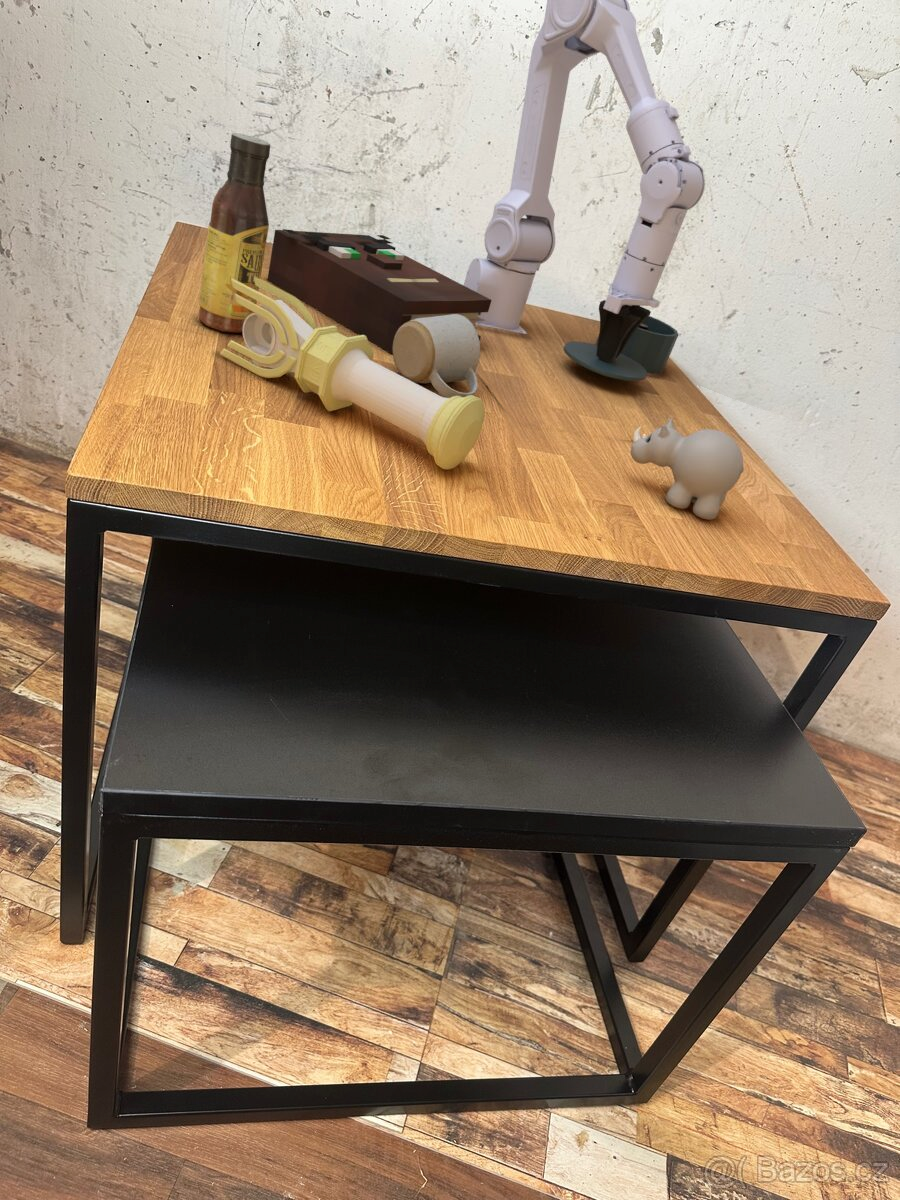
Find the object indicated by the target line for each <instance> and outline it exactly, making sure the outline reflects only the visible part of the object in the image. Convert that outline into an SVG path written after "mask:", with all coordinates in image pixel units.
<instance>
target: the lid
mask: <svg viewBox="0 0 900 1200" xmlns="http://www.w3.org/2000/svg"><path fill="white" fill-rule="evenodd" d="M595 344H596V343H590V342H586V341H568V342H566V343H565V344H564V345H563V352H564V353H565V355H566V356H567V357H569V358H570V360H572V361H574V362H575V363H577V364H578V365H580V366H581V367H583V368H585V369H587V370H589V371H591V372H593V373H595V374H598V375H601V376H603V377H606V378H609V379H614V380H621V381H622V380H623V381H629V382H640V381H644V380H645V379H646V377H647V376H648V372H647V371H646V370H645V368H644V367H643V366H641V365H640V364H639V363H637V362H636V361H634V360H633V359H631V358H629V357H627V356H625V355H623V354H621V353H620V355H619V356H618V357H617V358H616V356H617V353H618V351H619V349H618V350H617V352H616V354H615V356H614V357H613V358H612V360H611V361H607V360H604V359H602V358H600V357H598V356H596V354H597V345H595ZM620 346H621V345H620ZM619 348H620V347H619Z"/></svg>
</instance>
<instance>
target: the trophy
mask: <svg viewBox="0 0 900 1200" xmlns="http://www.w3.org/2000/svg"><path fill="white" fill-rule="evenodd" d="M254 281H255V285H256V286H257V287H259V289H261V290H263V291H265V292H267V293H269V294H271V295H273V296H274V297H276V298H279V299H274V298H272V297H270V296H268V295H266V294H265V293H262V292H260V291H259V290H258V291H256V290H254V289H252V288H250V287H248V286H246V285H244V284H242V283H240V282H238V281H236V280H235V279H233V278H231V282H232V287H233V288H234V289H236V290H238V291H240V292H242V293H244V294H246V295H247V296H249V297H251V298H253V299H255V300H257V302H259V303H260V305H258V304H257V303H256V304H254V303H252V302H250V301H249V300H247V299H245V298H243V297H241V296H239V295H237V294H235V297H236V302H237V303H238V304H240V305H242V306H243V307H245V308H247V309H249V310H251V311H253V312H255V313H252V314H250V315H249V316H247V318H246V319H245V321H244V324H243V332H242V338H243V341H244V344H245V345H242V344H240V343H238V342H236V341H235V340H232V339H230V340H229V342H228V344H227V347H228V348H229V349H231V350H234V351H236V352H238V353H240V354H241V355H243V356H245V357H246V358H249V359H251V361H249V360H247V359H245V358H244V357H241V356H239V355H237V354H235V353H233V352H232V351H230V350H229V349H226V348H222V350H221V351H220V352H219V355H220V356H222V357H223V358H225V359H227V360H229V361H231V362H232V363H234V364H237V365H238V366H240V367H242V368H244V369H245V370H248V371H249V372H251V373H253V374H254V375H257V376H258V377H261V378H265V379H271V378H272V379H273V378H281V377H282V376H283V375H285V374H294V376H293V377H294V379H295V381H296V382H297V385H298V387H299V388H300V389H301V391H302V392H303V393H305V394H307V393H310V392H312V393H314V394H316V395H318V397H319V399H320V400H321V401H320V402H322V404H323V406H324V408H325V409H326V411H328V412H334V411H336V410H339V409H343V408H347V407H350V406H352V405H353V404H355V405H357V406H359V407H360V408H362V409H364V410H366V411H367V412H369V413H372V414H373V415H375V416H377V417H379V418H380V419H383V420H385V421H387V422H388V423H390V424H392V425H394V426H396V427H397V428H399V429H401V430H403V431H405V432H407V433H409V434H411V436H414V437H416V438H418V439H419V440H421V441H422V442H423V443H424V444H425V448H426V451H427V452H428V454H430V455H431V456H433V459H434V463H435V464H436V465H437V466H438V467H440V468H441V469H443V470H451V469H454V468H456V467H457V466H459V465H460V464H461V463H462V462H463V461H464V460H465V459H466V457H467V456H468V455H469V454H470V452H471V451H472V450H473V448H474V447H475V445H476V444H477V442H478V439H479V438H480V435H481V431H482V428H483V424H484V420H485V412H486V411H485V410H486V409H485V404H484V402H483V400H482V399H481V398H480V397H478V396H475V395H469V396H466V397H461V396H453V397H451V398H445V397H443V396H442V395H439V394H437V393H436V392H433V391H431V390H430V389H427V387H426V388H425V387H423V386H422V385H420V384H419V383H415V382H412V381H410V380H408V379H406V378H404V377H403V376H402V375H401V374H398V373H397V372H395V371H392V370H391V369H389V368H387V367H384V366H383V365H381V364H379V363H377V362H376V361H373V359H374V356H375V355H374V352H373V349H372V347H371V344H370V341H369V340H368V339H367V337H366V336H365V335H359V334H358V335H354V336H349V337H347V336H346V335H343V334H342V333H340V330H339V327H337V326H336V325H329V326H323V327H317V325H316V322H315V320H314V317H313V315H312V314H311V313H310V311H309V310H308V309H307V307H306V306H305V304H304V302H303V301H301V300H300V299H298V298H297V297H295V296H293V295H292V294H290V293H288V292H287V291H285V290H283V289H281V288H280V287H278V286H276V285H274V284H271V283H269V282H267V281H265V280H263V279H261V278H260V279H259V278H257V277H255V276H254ZM285 302H286V303H285ZM288 304H289V305H292V307H294V308H295V309H296V310H297V311H298V312H299V313H300V315H301V316H302V317H303V318H302V317H301V316H300V315H299V314H298V313H297V312H296V311H295V310H293V309H292V308H291V306H289V305H288Z"/></svg>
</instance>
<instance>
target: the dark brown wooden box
mask: <svg viewBox="0 0 900 1200" xmlns="http://www.w3.org/2000/svg"><path fill="white" fill-rule="evenodd" d="M375 236H376V237H378V238H379V239H378V238H375V237H374V236H371V235H367V234H354V233H337V232H323V231H321V232H319V231H304V230H294V229H285V228H282V229H275V230H274V235H273V241H272V247H271V254H270V261H269V266H268V273H267V279H266V280H267V281H268V282H270V284H271V283H272V285H274V286H275V287H277V288H279V289H281V290H283V291H285V292H287V293H289V294H290V295H292V296H294V297H296V298H297V299H298V300H299V301H301V302H302V303H305V304H307V305H308V306H310V307H312V308H313V309H314V310H316V311H318V312H320V313H322V314H324V315H325V316H327V317H328V318H331V319H332V320H333V321H335V322H337V323H339V324H340V325H342V326H344V327H345V328H347V329H348V330H350V331H352V332H354V333H356V334H357V335H358V336H359V335H365V336H366V337H367V339H368V342H370V343H372V344H374V345H376V346H377V347H379V348H381V349H382V350H384V351H385V352H388V353H389V354H390V355H392V356H393V341H394V337H395V334H396V332H397V331H398V329H399V328H400V327H401V326H402V325H403V324H404V323H406V322H408V321H411V320H414V319H417V318H427V317H435V316H444V315H451V314H459V315H462V316H464V317H466V318H467V319H468V320H469V321H470V322H471V323H472V324H473V326H474V328H475V329H476V325H477V324H476V321H486V320H484V319H482V318H480V317H478V314H479V313H482V312H488V311H489V307H490V304H491V301H492V300H491V299H489V298H487V297H485V296H483V295H481V294H479V293H477V292H475V291H473V290H471V289H469V288H467V287H465V286H464V284H462V283H460V282H458V281H456V280H454V279H453V278H450V277H448V276H446V275H444V274H442V273H440V272H438V271H436V270H434V269H432V268H430V267H429V266H427V265H425V264H422V263H421V262H419V261H418V260H415V259H413V258H411V257H409V256H407V255H405V254H403V253H401V252H399V251H398V250H396V249H397V248H396V247H395V246H393V245H392V244H393V242H391V241H390V240H391V238H390V237H388V236H386V235H383V234H376V235H375ZM478 337H479V342H480V341H481V338H482V336H481V335H479V334H478Z"/></svg>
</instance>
